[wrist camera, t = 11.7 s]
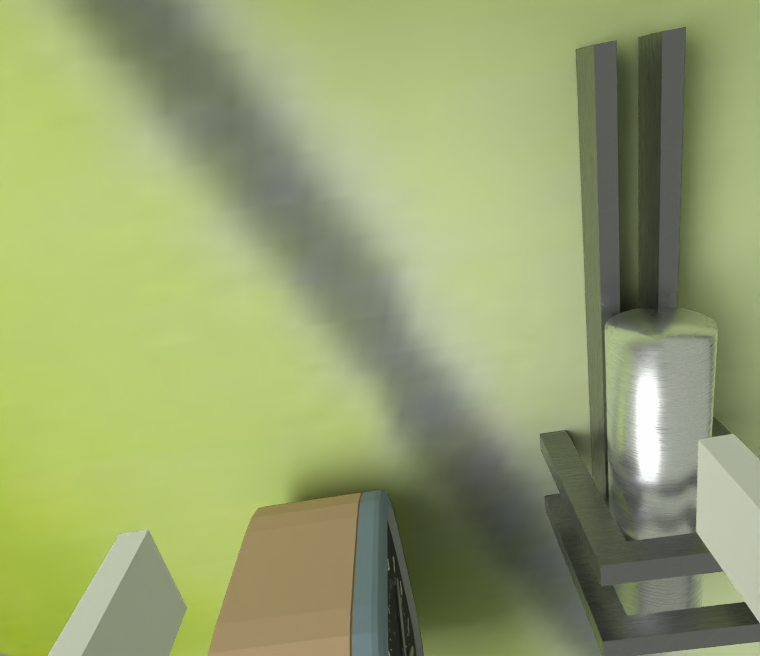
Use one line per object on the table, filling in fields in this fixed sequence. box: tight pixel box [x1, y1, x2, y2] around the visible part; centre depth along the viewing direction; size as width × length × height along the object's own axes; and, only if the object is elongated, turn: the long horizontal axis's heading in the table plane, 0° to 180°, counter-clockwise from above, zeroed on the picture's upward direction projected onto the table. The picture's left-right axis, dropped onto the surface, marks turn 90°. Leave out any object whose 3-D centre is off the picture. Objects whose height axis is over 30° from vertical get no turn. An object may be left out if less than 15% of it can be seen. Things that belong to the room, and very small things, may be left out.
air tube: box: [605, 307, 718, 616], centre depth 37 cm, size 22×6×6 cm, turn 10°
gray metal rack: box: [540, 27, 760, 656], centre depth 34 cm, size 39×12×13 cm, turn 10°
